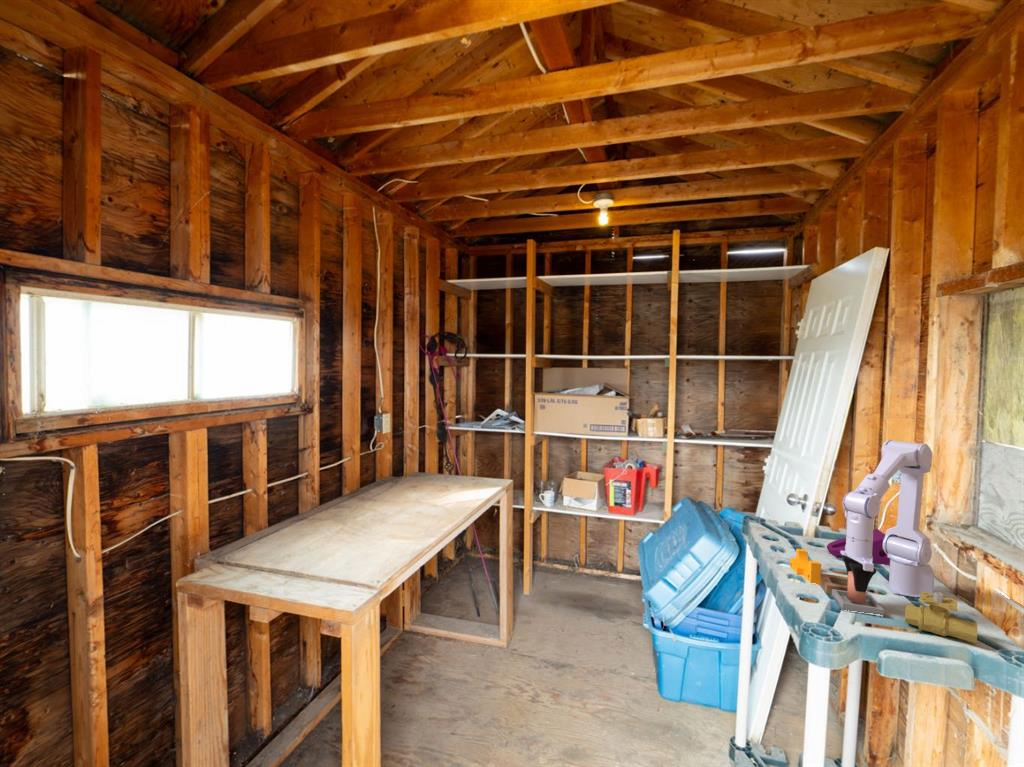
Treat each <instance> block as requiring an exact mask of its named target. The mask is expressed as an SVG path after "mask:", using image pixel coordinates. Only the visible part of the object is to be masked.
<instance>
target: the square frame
mask: <svg viewBox="0 0 1024 767" xmlns="http://www.w3.org/2000/svg"><path fill="white" fill-rule="evenodd" d="M819 586H820V587H821V588H822V589H823V591H824V592H825V594H827V595H832V589H836V590H842V591H847V587H848V576H842V575H841V576H840V575H835V574H829V573H828V574H827V573H824V572H823V573H822V572H821V580H820V585H819Z"/></svg>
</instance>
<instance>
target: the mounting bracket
mask: <svg viewBox="0 0 1024 767" xmlns="http://www.w3.org/2000/svg"><path fill="white" fill-rule="evenodd" d="M885 534H886V533H884V532H882V531H881V530H879V529H878V528H877V529H875V528H874V529H873V547H872V556H873V562H874V563H875V564H877V565H882V564H884V566H890V558H888V557H887V555H888V554H886V553H885V552H884V550H883V540H884V538H885ZM845 545H846V537H843V538H839V539H836V540H833V541H831V542H829V543H828V544H827V545H826V548H827V551H828V553H829V554H830V555H831V554H832V556H833V557H841V556H842V554H841V553H840V551H845Z"/></svg>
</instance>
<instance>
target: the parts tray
mask: <svg viewBox="0 0 1024 767" xmlns="http://www.w3.org/2000/svg"><path fill="white" fill-rule="evenodd" d="M831 598H833V600H834V601H835V602H836V604H837V605H838V607H839V608H840V609H841V611H843V610H847V611H848V610H849V611H857V612H864V613H873V614H880V615H884V616H885V609H884V608H883V607H882V606H881V605H880V604H879V603H878V602H877V600H876V599H875V598H874V597H873V596H872V594H867V593H866V601H865V603H864V604H860V603H855V602H852V601H850V600H849V599H847V591H842V590H836V589H832V594H831ZM847 611H846V612H847ZM843 612H844V611H843Z"/></svg>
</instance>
